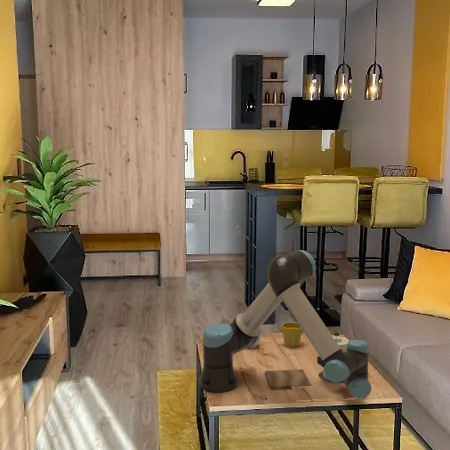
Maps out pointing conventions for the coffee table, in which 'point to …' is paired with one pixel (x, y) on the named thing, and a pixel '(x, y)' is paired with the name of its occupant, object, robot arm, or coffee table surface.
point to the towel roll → (342, 344)
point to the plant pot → (291, 333)
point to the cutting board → (286, 379)
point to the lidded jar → (257, 341)
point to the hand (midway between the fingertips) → (333, 352)
